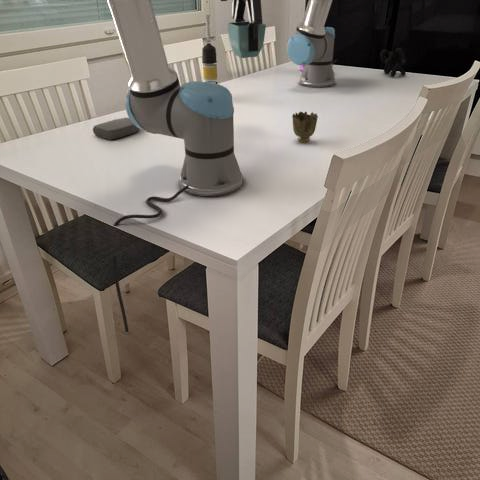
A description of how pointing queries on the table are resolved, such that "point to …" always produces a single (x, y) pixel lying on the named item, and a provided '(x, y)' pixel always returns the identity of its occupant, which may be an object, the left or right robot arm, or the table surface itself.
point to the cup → (304, 125)
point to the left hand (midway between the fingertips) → (246, 48)
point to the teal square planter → (244, 38)
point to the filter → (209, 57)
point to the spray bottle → (115, 128)
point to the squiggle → (393, 62)
